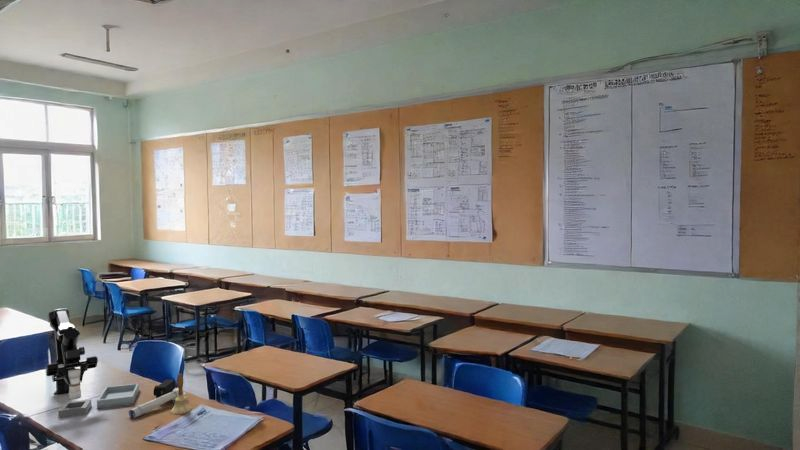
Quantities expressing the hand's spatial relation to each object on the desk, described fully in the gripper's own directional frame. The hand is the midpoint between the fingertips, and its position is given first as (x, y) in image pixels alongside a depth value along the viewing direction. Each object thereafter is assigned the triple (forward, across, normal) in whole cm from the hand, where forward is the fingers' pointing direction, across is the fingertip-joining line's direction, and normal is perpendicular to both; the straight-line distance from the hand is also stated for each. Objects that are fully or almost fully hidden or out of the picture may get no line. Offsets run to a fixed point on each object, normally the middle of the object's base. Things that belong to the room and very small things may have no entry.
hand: (75, 382), depth 219 cm
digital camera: (+15, +34, +4) cm, 37 cm away
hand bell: (+29, +35, -10) cm, 46 cm away
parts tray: (+6, +18, +13) cm, 22 cm away
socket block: (+8, 0, +10) cm, 13 cm away
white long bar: (+23, +28, -4) cm, 36 cm away
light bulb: (+4, 0, +6) cm, 7 cm away
